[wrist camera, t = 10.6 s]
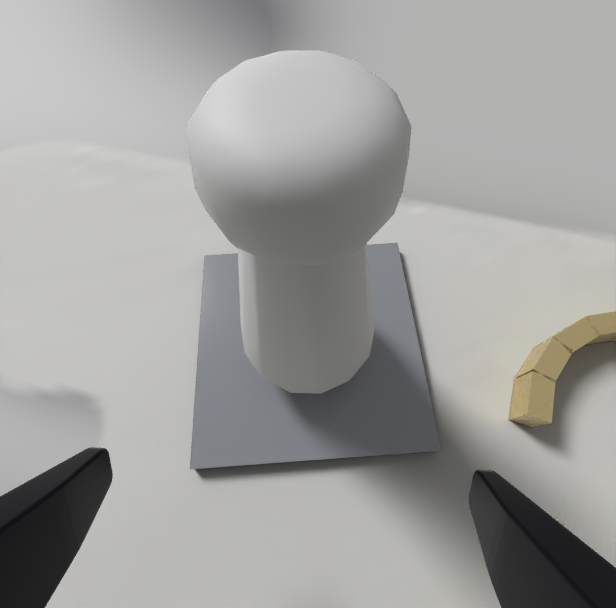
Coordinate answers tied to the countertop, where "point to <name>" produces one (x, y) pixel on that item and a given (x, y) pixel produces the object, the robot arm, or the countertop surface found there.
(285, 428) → the coaster
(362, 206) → the salt shaker
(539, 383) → the gold curved piece
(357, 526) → the countertop surface
